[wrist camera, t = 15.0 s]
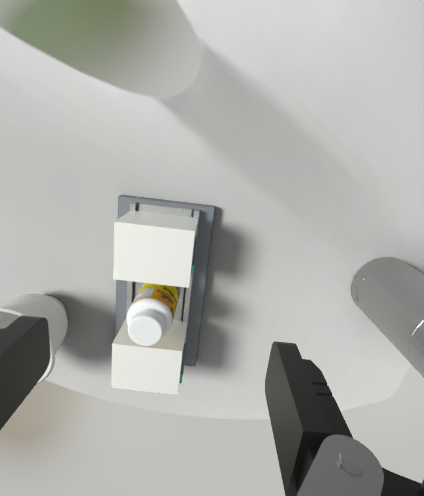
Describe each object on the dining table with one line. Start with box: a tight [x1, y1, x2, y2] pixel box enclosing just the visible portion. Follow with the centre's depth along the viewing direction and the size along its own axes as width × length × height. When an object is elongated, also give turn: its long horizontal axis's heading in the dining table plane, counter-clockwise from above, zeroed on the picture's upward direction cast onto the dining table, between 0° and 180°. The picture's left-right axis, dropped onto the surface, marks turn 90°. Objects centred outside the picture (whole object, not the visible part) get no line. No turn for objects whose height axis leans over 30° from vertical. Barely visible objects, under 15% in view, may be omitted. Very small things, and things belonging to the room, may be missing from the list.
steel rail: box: [126, 202, 200, 343], centre depth 43 cm, size 25×9×1 cm, turn 173°
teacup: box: [0, 294, 68, 384], centre depth 42 cm, size 12×15×10 cm
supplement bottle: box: [127, 283, 179, 346], centre depth 38 cm, size 6×6×10 cm
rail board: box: [115, 195, 215, 366], centre depth 45 cm, size 26×13×2 cm, turn 173°
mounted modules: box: [111, 211, 198, 395], centre depth 40 cm, size 23×9×7 cm, turn 173°
